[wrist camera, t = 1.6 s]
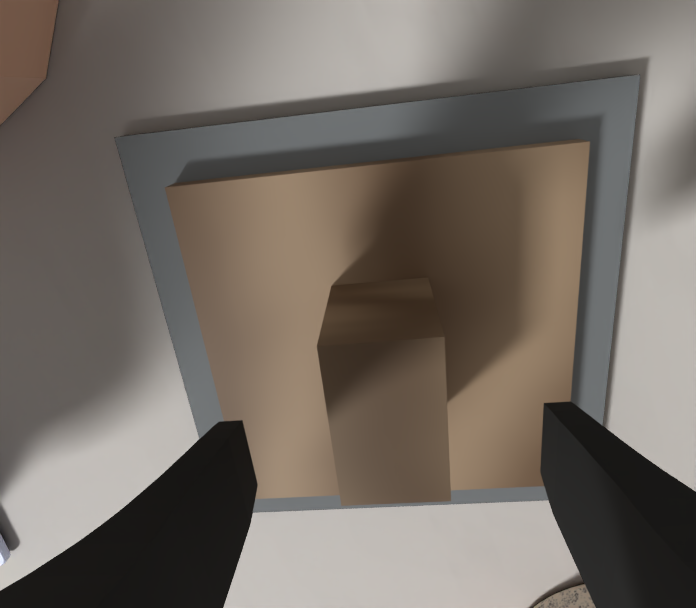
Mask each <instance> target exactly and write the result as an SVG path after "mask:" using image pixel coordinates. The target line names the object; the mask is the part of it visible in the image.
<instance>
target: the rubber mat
mask: <svg viewBox="0 0 696 608" xmlns="http://www.w3.org/2000/svg"><path fill="white" fill-rule="evenodd" d="M639 83H640V75H630V76H622V77H613V78H605V79H597V80H588V81H580V82H571V83H563V84H555V85H546V86H538V87H530V88H521V89H513V90H504V91H496V92H488V93H479V94H471V95H463V96H454V97H446V98H438V99H429V100H421V101H412V102H404V103H396V104H387V105H379V106H371V107H362V108H354V109H345V110H337V111H329V112H320V113H312V114H304V115H295V116H287V117H279V118H270V119H262V120H253V121H245V122H237V123H228V124H220V125H212V126H203V127H195V128H186V129H178V130H170V131H161V132H153V133H145V134H136V135H128V136H120V137H114V138H115V141H116V145H117V148H118V152H119V155H120V159H121V162H122V166H123V170H124V173H125V177H126V180H127V184H128V187H129V191H130V194H131V198H132V201H133V205H134V209H135V212H136V216H137V219H138V223H139V226H140V230H141V233H142V237H143V240H144V244H145V248H146V251H147V255H148V258H149V262H150V265H151V269H152V272H153V276H154V279H155V283H156V287H157V290H158V294H159V297H160V301H161V304H162V308H163V311H164V315H165V318H166V322H167V326H168V329H169V333H170V336H171V340H172V343H173V347H174V350H175V354H176V357H177V361H178V365H179V368H180V372H181V375H182V379H183V382H184V386H185V389H186V393H187V396H188V400H189V403H190V407H191V411H192V414H193V418H194V421H195V425H196V428H197V432H198V435H199V439H200V438H201V437H202V436H203V435H204V434H206V433H207V432H208V431H209V430H210V429H211V428H212V427H213V426H214V425H215V424H217V423H218V422H220V421H224V419H223V415H222V412H221V408H220V404H219V400H218V396H217V392H216V388H215V384H214V380H213V376H212V372H211V368H210V364H209V360H208V356H207V352H206V349H205V345H204V341H203V337H202V333H201V329H200V325H199V321H198V317H197V313H196V309H195V305H194V301H193V297H192V293H191V289H190V286H189V282H188V278H187V274H186V270H185V266H184V262H183V258H182V254H181V250H180V246H179V242H178V238H177V234H176V230H175V226H174V223H173V219H172V215H171V211H170V207H169V203H168V199H167V195H166V191H165V187H167V186H169V185H171V184H174V183H179V182H188V181H198V180H207V179H216V178H225V177H234V176H243V175H253V174H262V173H271V172H280V171H289V170H299V169H308V168H317V167H326V166H335V165H345V164H354V163H363V162H372V161H381V160H391V159H400V158H409V157H418V156H427V155H437V154H446V153H455V152H464V151H473V150H482V149H492V148H501V147H510V146H519V145H528V144H538V143H547V142H556V141H565V140H574V139H581V140H585V141H590V149H589V162H588V176H587V189H586V202H585V215H584V229H583V242H582V255H581V268H580V282H579V295H578V308H577V321H576V335H575V348H574V361H573V374H572V388H571V402H573V403H574V404H575V405H577V406H578V407H579V408H581V409H582V410H583V411H584V412H586V413H587V414H588V415H590V416H591V417H592V418H593V419H595V420H596V421H597V422H598V423H600V424H601V425H602V426H603V417H604V407H605V398H606V389H607V380H608V370H609V361H610V352H611V343H612V333H613V324H614V315H615V305H616V296H617V287H618V278H619V268H620V259H621V250H622V241H623V231H624V222H625V213H626V204H627V194H628V185H629V176H630V166H631V157H632V148H633V139H634V129H635V120H636V111H637V102H638V92H639ZM543 500H548V497H547V493H546V490H545V487H544V486H538V487H515V488H492V489H470V490H451V501H445V502H421V503H397V504H373V505H350V506H341V500H340V495H334V496H312V497H289V498H267V499H255V503H254V508H253V513H255V512H279V511H303V510H327V509H351V508H375V507H399V506H423V505H447V504H471V503H495V502H519V501H543Z"/></svg>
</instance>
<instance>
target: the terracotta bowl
mask: <svg viewBox="0 0 696 608" xmlns="http://www.w3.org/2000/svg"><path fill="white" fill-rule="evenodd" d="M58 1H59V0H0V125H1V124H2V123H3V122H4V121H5V120H6V119H7V118H8V117H9V116H10V115H11V114H12V113H13V112H14V111H15V110H16V109H17V108H18V107H19V106H20V105H21V104H22V103H23V102H24V100H25V99H26V98H27V97H28V96H29V95H30V94H31V93H32V92H33V91H34V90H35V89H36V88H37V87H38V86H39V85H40V84H41V83H42V82H43V81H44V80H45V79H46V75H47V69H48V63H49V56H50V50H51V44H52V38H53V32H54V26H55V20H56V13H57V7H58Z"/></svg>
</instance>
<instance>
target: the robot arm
mask: <svg viewBox="0 0 696 608" xmlns="http://www.w3.org/2000/svg"><path fill="white" fill-rule="evenodd" d="M540 473H541V477H542V480H543V483H544V487H545V490H546V493H547V497H548V500H549V503H550V506H551V509H552V512H553V515H554V517H555V519H556V521H557V524H558V526H559V528H560V530H561V533H562V535H563V537H564V539H565V542H566V544H567V546H568V548H569V550H570V553H571V555H572V557H573V559H574V561H575V564H576V566H577V568H578V570H579V572H580V575H581V577H582V579H583V581H584V583H585V586H586V588H587V590H588V592H589V594H590V596H591V599H592V601H593V603H594V605H595V607H596V608H696V492H695V491H694V490H692V489H691V488H689V487H688V486H686V485H685V484H683V483H682V482H680V481H678V480H677V479H675V478H674V477H672V476H671V475H669V474H668V473H666V472H665V471H663V470H662V469H660V468H659V467H658V466H656V465H655V464H653V463H652V462H650V461H649V460H648V459H646V458H645V457H643V456H642V455H641V454H639V453H638V452H637V451H635V450H634V449H632V448H631V447H630V446H628V445H627V444H626V443H624V442H623V441H622V440H620V439H619V438H618V437H616V436H615V435H614V434H613V433H611V432H610V431H609V430H607V429H606V428H605V427H604V426H602V425H601V424H600V423H598V422H597V421H596V420H595V419H593V418H592V417H591V416H590V415H588V414H587V413H586V412H584V411H583V410H582V409H581V408H579V407H578V406H577V405H575V404H574V403H573V402H571V401H570V402H552V403H544V407H543V427H542V446H541V466H540ZM257 486H258V484H257V479H256V475H255V471H254V467H253V462H252V458H251V454H250V450H249V445H248V441H247V437H246V433H245V429H244V424H243V420H237V421H220V422H218V423H217V424H215V425H214V426H213V427H212V428H211V429H210V430H209V431H208V432H207V433H206V434H204V435H203V436H202V437H201V438H200V439H199V440H198V441H197V442H196V443H195V444H194V445H193V446H192V447H191V448H190V449H189V450H188V451H187V452H186V453H185V454H184V455H182V456H181V457H180V458H179V459H178V460H177V461H176V462H175V463H174V464H173V465H172V466H171V467H170V468H169V469H168V470H166V471H165V472H164V473H163V474H162V475H161V476H160V477H159V478H158V479H157V480H155V481H154V482H153V483H152V484H151V485H150V486H148V487H147V488H146V489H145V490H144V491H143V492H141V493H140V494H139V495H138V496H137V497H136V498H134V499H133V500H132V501H131V502H130V503H129V504H128V505H126V506H125V507H124V508H123V509H121V510H120V511H119V512H118V513H116V514H115V515H114V516H113V517H111V518H110V519H109V520H107V521H106V522H105V523H103V524H102V525H101V526H99V527H98V528H97V529H95V530H94V531H93V532H91V533H90V534H88V535H87V536H86V537H84V538H83V539H82V540H80V541H79V542H77V543H76V544H74V545H73V546H71V547H70V548H68V549H67V550H65V551H64V552H62V553H61V554H59V555H57V556H56V557H54V558H53V559H51V560H50V561H48V562H47V563H45V564H44V565H42V566H41V567H39V568H38V569H36V570H34V571H33V572H31V573H30V574H28V575H26V576H25V577H23V578H21V579H20V580H18V581H16V582H15V583H13V584H11V585H9V586H8V587H6V588H4V589H3V590H1V591H0V608H223V607H224V603H225V600H226V597H227V594H228V591H229V588H230V585H231V582H232V579H233V576H234V573H235V570H236V567H237V564H238V561H239V558H240V555H241V552H242V549H243V546H244V542H245V539H246V536H247V533H248V530H249V527H250V523H251V518H252V513H253V508H254V503H255V497H256V492H257ZM9 557H10V551H9V549H8V547H7V545H6V544H5V542H4V540H3V538H2V536H1V534H0V565H3V564H4V563H5V562H6V561H7V560H8V559H9Z"/></svg>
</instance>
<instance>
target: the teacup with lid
mask: <svg viewBox="0 0 696 608" xmlns="http://www.w3.org/2000/svg"><path fill="white" fill-rule="evenodd" d="M534 608H596V607H595V605H594V603H593V601H592V599H591V596H590V594H589V592H588V590H587V588H586V586H585V584H582V585H579V586H575V587H572V588H569V589H566V590H563V591H561V592H558V593H556V594H554V595H552V596H550V597H548V598H547V599H545V600H543V601H542V602H540V603H539V604H537V605H536V606H535V607H534Z"/></svg>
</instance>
